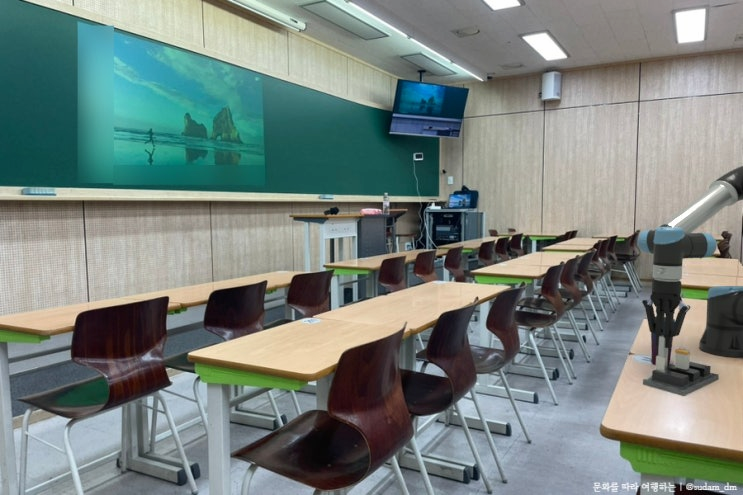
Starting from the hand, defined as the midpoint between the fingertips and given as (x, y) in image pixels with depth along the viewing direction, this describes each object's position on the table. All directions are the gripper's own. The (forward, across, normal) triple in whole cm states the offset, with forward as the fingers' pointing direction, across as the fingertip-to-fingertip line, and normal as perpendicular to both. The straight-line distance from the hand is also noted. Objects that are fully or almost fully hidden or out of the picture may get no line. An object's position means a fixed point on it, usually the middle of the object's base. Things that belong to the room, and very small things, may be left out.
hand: (662, 357), depth 155 cm
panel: (+6, +5, 0) cm, 8 cm away
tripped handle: (+2, +5, 0) cm, 6 cm away
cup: (+6, -6, +12) cm, 15 cm away
